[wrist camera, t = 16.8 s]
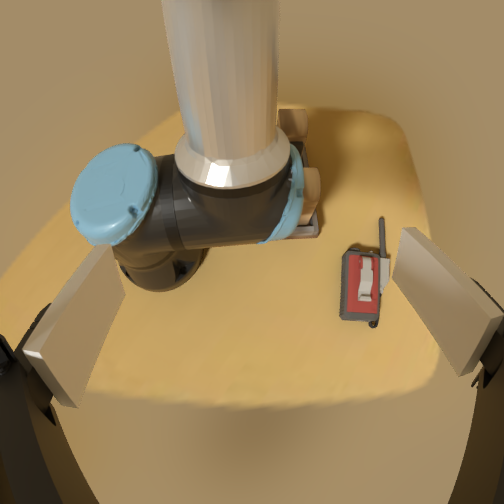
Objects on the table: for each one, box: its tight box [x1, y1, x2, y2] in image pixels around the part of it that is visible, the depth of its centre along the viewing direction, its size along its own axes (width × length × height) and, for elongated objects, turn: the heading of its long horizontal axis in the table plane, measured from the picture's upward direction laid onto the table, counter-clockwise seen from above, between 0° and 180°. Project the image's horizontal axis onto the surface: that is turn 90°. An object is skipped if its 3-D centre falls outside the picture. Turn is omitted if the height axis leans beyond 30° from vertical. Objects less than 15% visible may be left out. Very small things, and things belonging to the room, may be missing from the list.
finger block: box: [297, 168, 321, 227], centre depth 45 cm, size 4×6×12 cm
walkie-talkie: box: [339, 218, 390, 328], centre depth 48 cm, size 9×4×20 cm
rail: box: [277, 109, 319, 240], centre depth 47 cm, size 8×20×14 cm, turn 3°
